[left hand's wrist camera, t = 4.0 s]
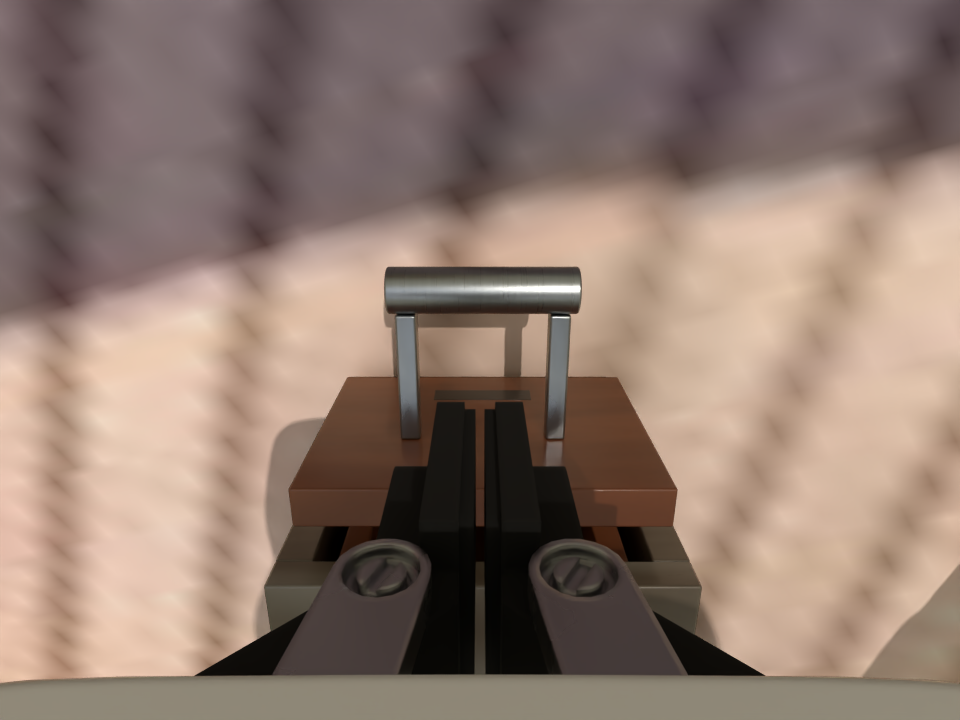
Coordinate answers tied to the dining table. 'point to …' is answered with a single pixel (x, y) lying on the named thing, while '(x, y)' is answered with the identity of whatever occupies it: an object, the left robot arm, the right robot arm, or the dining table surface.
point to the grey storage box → (647, 550)
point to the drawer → (547, 405)
